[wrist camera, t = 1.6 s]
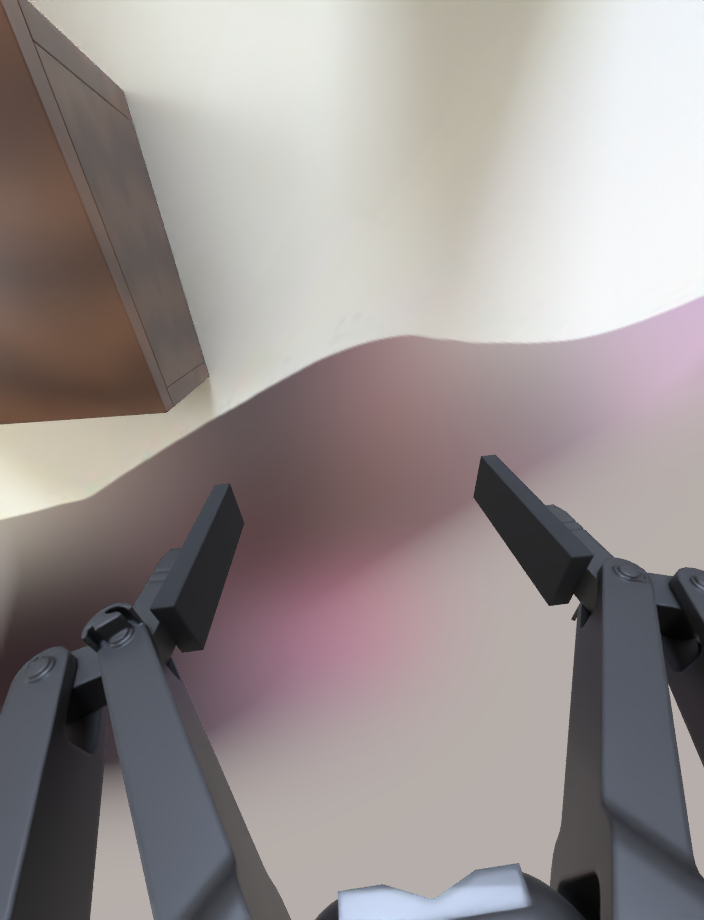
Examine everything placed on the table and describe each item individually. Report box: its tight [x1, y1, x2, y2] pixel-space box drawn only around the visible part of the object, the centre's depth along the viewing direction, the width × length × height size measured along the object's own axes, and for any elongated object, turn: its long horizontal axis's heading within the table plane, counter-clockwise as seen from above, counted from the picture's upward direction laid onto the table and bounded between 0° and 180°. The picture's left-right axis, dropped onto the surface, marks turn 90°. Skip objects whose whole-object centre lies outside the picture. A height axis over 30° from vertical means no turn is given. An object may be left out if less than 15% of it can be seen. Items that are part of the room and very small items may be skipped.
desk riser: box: [0, 0, 209, 424], centre depth 24 cm, size 23×15×12 cm, turn 2°
